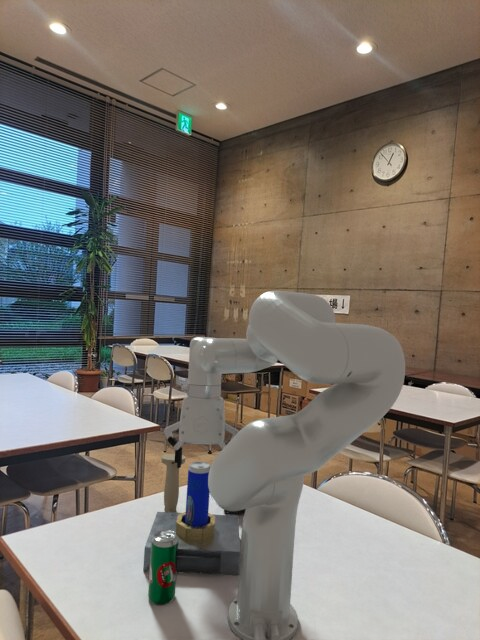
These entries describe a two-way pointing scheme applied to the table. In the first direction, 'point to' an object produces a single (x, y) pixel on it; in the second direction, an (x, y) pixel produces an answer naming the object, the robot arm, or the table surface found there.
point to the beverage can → (197, 494)
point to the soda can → (163, 567)
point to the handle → (171, 482)
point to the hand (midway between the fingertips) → (200, 467)
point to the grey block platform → (201, 543)
